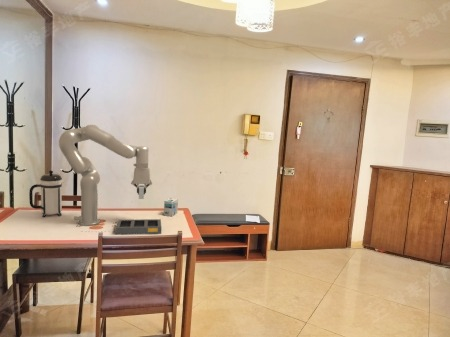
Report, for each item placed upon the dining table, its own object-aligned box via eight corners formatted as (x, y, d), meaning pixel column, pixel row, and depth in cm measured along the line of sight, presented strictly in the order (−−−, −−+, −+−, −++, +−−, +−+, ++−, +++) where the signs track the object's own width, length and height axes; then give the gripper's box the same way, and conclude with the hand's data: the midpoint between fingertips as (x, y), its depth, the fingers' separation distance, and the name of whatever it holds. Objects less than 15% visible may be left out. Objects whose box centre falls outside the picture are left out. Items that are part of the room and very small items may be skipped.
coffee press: (51, 210, 229) (50, 167, 225) (69, 213, 224) (68, 170, 220) (29, 216, 213) (27, 170, 209) (47, 220, 208) (46, 173, 204)
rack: (115, 234, 189) (115, 228, 189) (118, 225, 205) (118, 219, 204) (161, 234, 195) (161, 227, 194) (160, 225, 211) (160, 219, 210)
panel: (138, 198, 206) (139, 187, 205) (139, 195, 216) (139, 185, 215) (143, 198, 207) (143, 187, 206) (143, 195, 216) (144, 185, 216)
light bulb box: (172, 216, 231) (173, 201, 229) (163, 215, 232) (164, 200, 231) (177, 213, 241) (178, 198, 240) (169, 212, 243) (169, 197, 241)
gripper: (128, 166, 203) (127, 195, 206) (155, 167, 207) (154, 195, 210) (128, 164, 210) (128, 192, 213) (154, 165, 214) (154, 192, 217)
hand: (141, 193), depth 211 cm, fingers closed on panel, 3 cm apart
